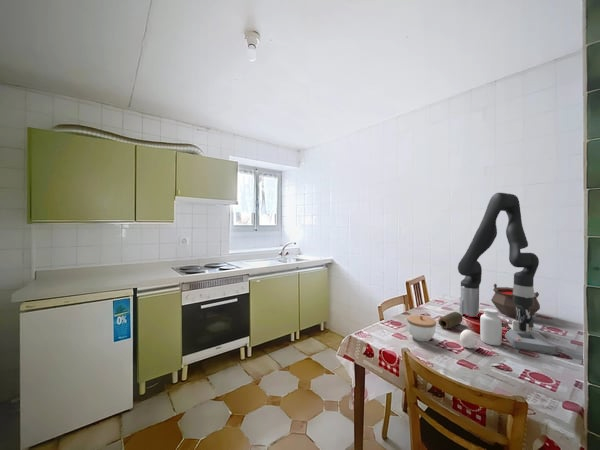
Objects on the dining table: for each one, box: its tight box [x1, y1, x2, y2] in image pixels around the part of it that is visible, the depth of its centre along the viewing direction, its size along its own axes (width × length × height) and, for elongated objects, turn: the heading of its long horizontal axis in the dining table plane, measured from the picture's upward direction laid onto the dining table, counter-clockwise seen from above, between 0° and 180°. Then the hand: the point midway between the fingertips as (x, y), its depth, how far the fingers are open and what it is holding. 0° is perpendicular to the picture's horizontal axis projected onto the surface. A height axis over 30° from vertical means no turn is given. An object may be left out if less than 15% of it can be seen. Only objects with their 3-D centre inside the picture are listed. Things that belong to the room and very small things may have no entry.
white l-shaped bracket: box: [507, 319, 529, 332], centre depth 125 cm, size 6×6×4 cm
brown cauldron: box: [490, 283, 541, 318], centre depth 153 cm, size 24×24×16 cm
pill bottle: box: [479, 308, 503, 346], centre depth 118 cm, size 8×8×15 cm
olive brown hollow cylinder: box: [438, 311, 464, 329], centre depth 136 cm, size 15×7×7 cm, turn 126°
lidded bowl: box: [406, 314, 437, 343], centre depth 122 cm, size 13×13×11 cm
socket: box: [502, 326, 557, 355], centre depth 117 cm, size 14×16×4 cm
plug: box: [515, 316, 534, 331], centre depth 130 cm, size 5×5×8 cm
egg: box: [459, 329, 478, 349], centre depth 113 cm, size 6×6×8 cm
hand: (522, 330), depth 120 cm, fingers closed
